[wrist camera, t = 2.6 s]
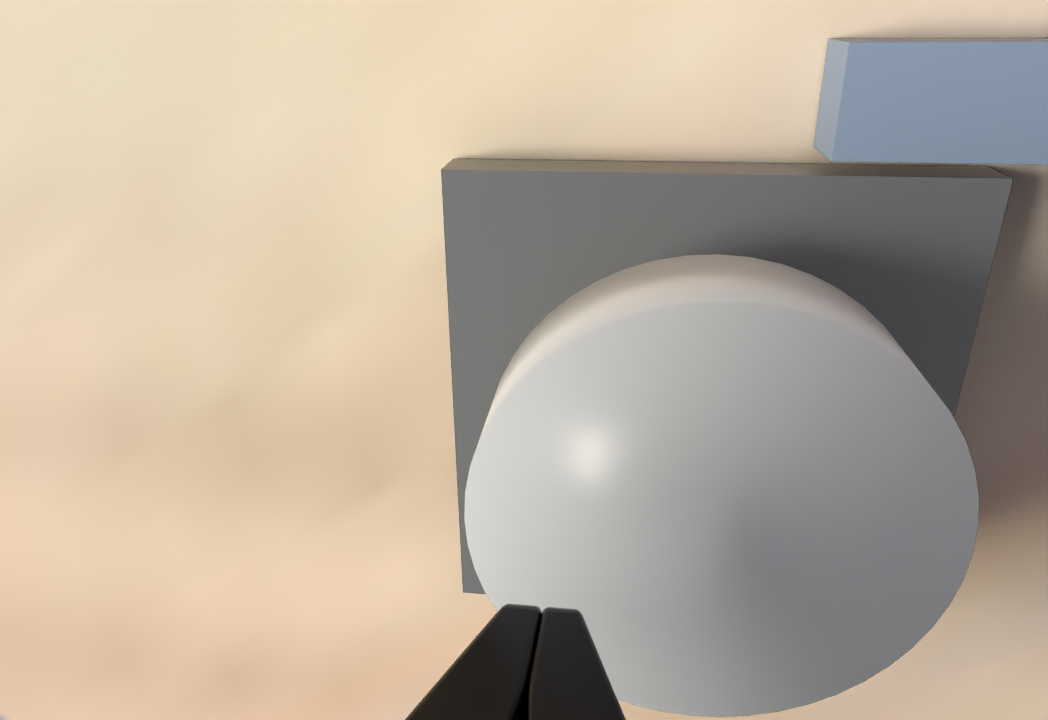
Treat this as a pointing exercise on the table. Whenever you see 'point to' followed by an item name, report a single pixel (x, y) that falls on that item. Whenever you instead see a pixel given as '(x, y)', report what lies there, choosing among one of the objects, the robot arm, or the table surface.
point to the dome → (723, 486)
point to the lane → (935, 101)
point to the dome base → (709, 252)
